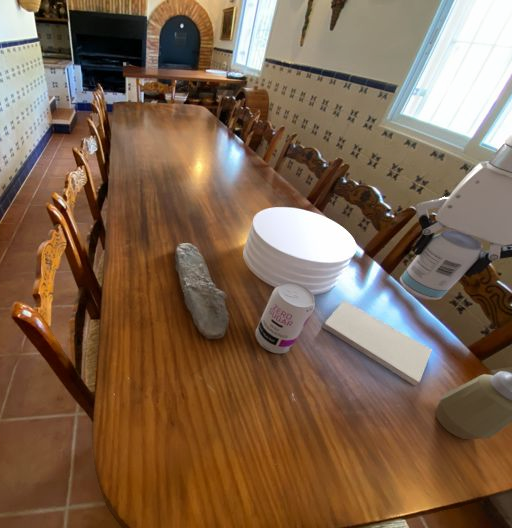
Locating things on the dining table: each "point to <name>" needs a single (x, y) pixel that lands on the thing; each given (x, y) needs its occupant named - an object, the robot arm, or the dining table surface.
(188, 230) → the dining table surface
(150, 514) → the dining table surface
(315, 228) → the plate stack
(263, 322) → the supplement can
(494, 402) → the squeeze bottle
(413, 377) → the serving board
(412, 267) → the beverage can
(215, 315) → the long grey stone
